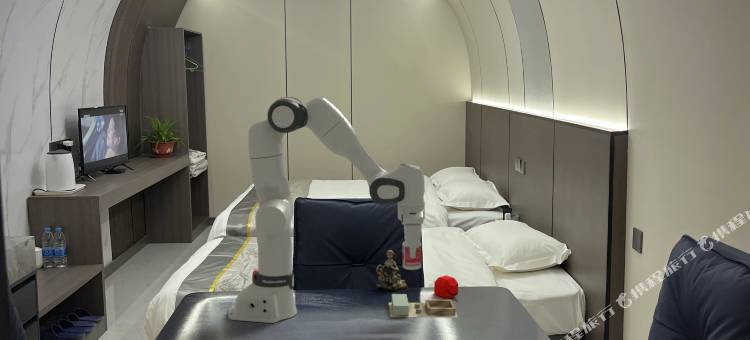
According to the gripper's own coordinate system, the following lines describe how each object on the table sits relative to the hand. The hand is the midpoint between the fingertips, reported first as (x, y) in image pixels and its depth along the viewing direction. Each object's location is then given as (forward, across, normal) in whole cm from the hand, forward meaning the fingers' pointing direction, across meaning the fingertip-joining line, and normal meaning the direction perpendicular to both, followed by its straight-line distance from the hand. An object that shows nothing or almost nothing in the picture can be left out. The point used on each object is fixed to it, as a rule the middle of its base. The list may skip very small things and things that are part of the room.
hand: (411, 254), depth 221 cm
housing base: (+21, -2, +4) cm, 21 cm away
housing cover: (+19, -2, -4) cm, 20 cm away
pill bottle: (+5, 0, 0) cm, 5 cm away
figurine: (+21, -27, -6) cm, 34 cm away
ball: (+21, -18, +13) cm, 31 cm away
